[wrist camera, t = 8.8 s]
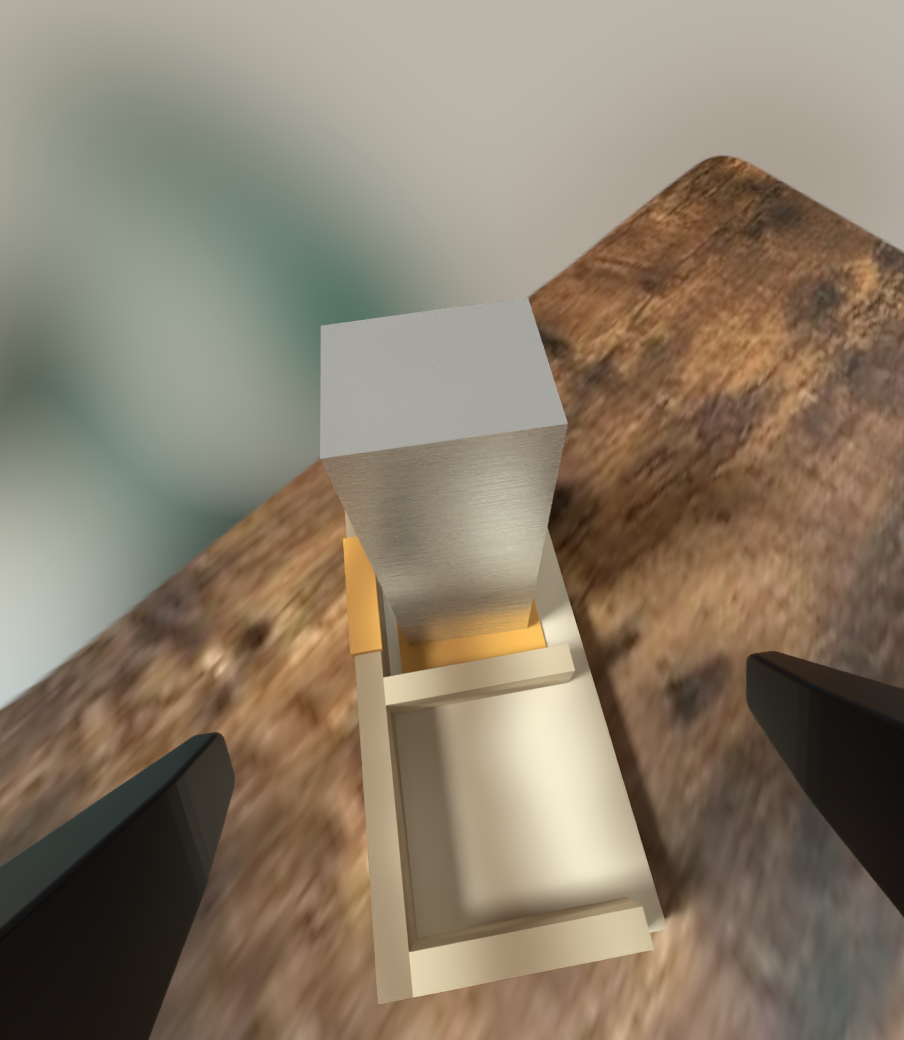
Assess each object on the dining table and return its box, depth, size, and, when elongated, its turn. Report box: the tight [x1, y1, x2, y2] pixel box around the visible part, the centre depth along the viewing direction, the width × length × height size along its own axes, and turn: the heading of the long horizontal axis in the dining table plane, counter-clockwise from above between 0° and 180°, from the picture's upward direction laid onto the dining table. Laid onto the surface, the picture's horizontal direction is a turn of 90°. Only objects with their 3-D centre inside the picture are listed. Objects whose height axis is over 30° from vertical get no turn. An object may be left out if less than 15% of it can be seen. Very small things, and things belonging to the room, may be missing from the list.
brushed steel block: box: [320, 297, 568, 646], centre depth 17 cm, size 4×5×13 cm
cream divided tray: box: [343, 512, 667, 1004], centre depth 20 cm, size 9×17×3 cm, turn 9°
